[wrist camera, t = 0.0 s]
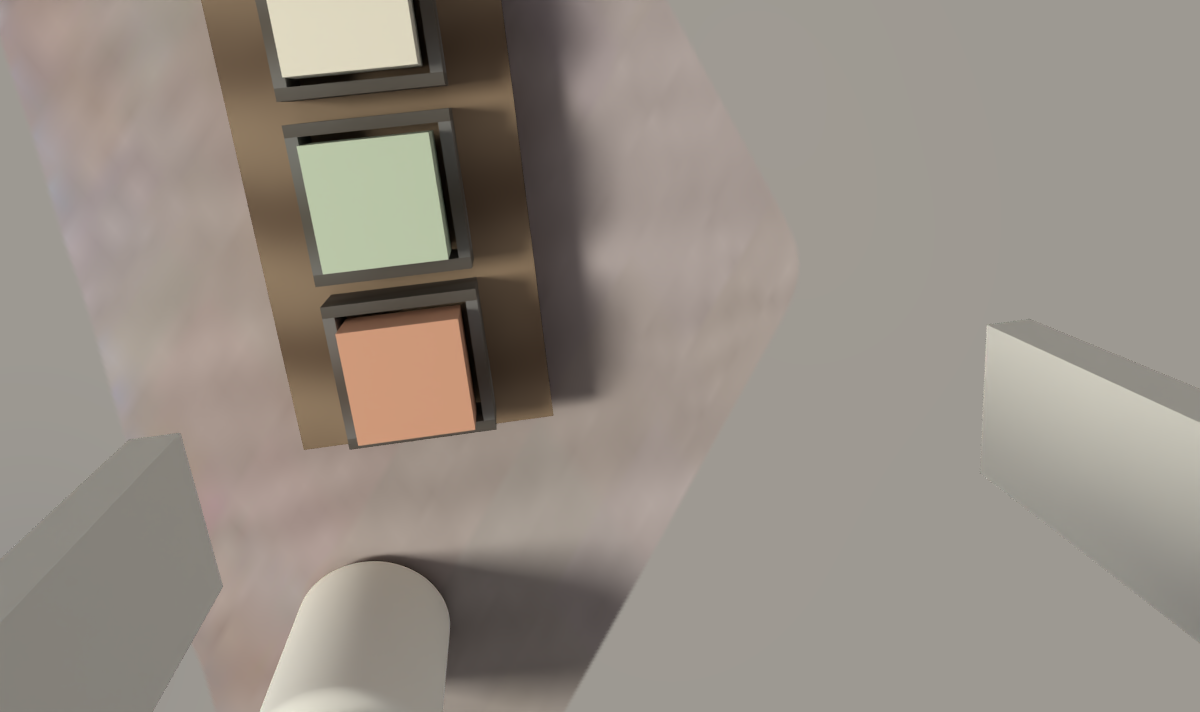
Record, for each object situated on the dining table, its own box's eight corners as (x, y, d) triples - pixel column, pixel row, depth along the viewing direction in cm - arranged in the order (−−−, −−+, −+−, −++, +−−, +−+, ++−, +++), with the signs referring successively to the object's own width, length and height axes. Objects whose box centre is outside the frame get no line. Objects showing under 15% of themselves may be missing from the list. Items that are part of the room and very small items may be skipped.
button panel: (203, -73, 35) (156, -100, 30) (487, -97, 36) (486, -126, 31) (314, 430, 42) (291, 472, 37) (550, 398, 43) (556, 435, 38)
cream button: (270, -59, 32) (251, -72, 29) (401, -70, 32) (394, -84, 30) (297, 79, 33) (282, 77, 31) (423, 66, 34) (417, 63, 31)
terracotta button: (345, 318, 36) (335, 334, 34) (460, 304, 37) (457, 318, 34) (367, 424, 38) (358, 446, 35) (476, 409, 38) (475, 429, 36)
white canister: (411, 531, 44) (382, 682, 33) (474, 647, 47) (467, 823, 35) (272, 590, 44) (194, 760, 33) (342, 702, 47) (293, 895, 35)
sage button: (310, 142, 34) (296, 146, 31) (433, 130, 34) (428, 132, 32) (334, 262, 35) (323, 274, 33) (451, 248, 36) (448, 259, 33)
